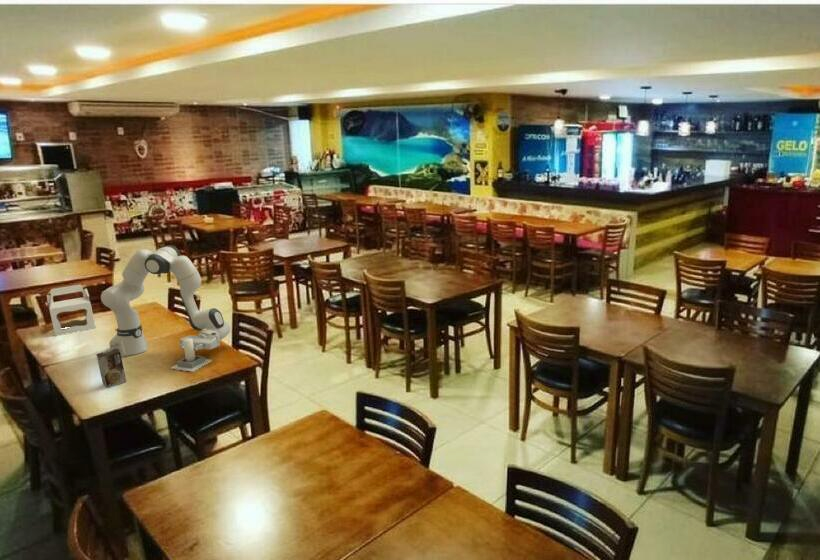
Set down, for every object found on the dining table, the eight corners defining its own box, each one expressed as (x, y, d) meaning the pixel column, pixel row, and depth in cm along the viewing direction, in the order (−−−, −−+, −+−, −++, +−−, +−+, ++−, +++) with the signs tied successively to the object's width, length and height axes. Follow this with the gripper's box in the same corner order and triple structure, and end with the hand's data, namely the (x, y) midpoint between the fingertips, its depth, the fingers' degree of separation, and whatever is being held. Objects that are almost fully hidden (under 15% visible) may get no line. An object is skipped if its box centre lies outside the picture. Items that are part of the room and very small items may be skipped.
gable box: (94, 322, 360) (85, 281, 352) (96, 328, 349) (87, 285, 342) (54, 330, 348) (44, 287, 341) (54, 336, 338) (44, 292, 330)
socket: (171, 369, 283) (169, 363, 282) (190, 358, 295) (189, 352, 294) (192, 372, 278) (191, 366, 277) (211, 361, 290) (211, 355, 289)
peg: (184, 364, 285) (180, 341, 281) (191, 361, 289) (187, 337, 286) (191, 365, 283) (187, 342, 280) (198, 362, 287) (194, 338, 284)
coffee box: (122, 378, 275) (116, 347, 270) (126, 382, 270) (120, 351, 266) (102, 384, 268) (95, 353, 264) (106, 388, 264) (100, 357, 260)
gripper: (190, 330, 298) (170, 340, 286) (220, 334, 291) (202, 344, 278) (191, 341, 300) (172, 351, 288) (222, 345, 293) (204, 355, 280)
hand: (187, 348), depth 283 cm, fingers open, 8 cm apart
